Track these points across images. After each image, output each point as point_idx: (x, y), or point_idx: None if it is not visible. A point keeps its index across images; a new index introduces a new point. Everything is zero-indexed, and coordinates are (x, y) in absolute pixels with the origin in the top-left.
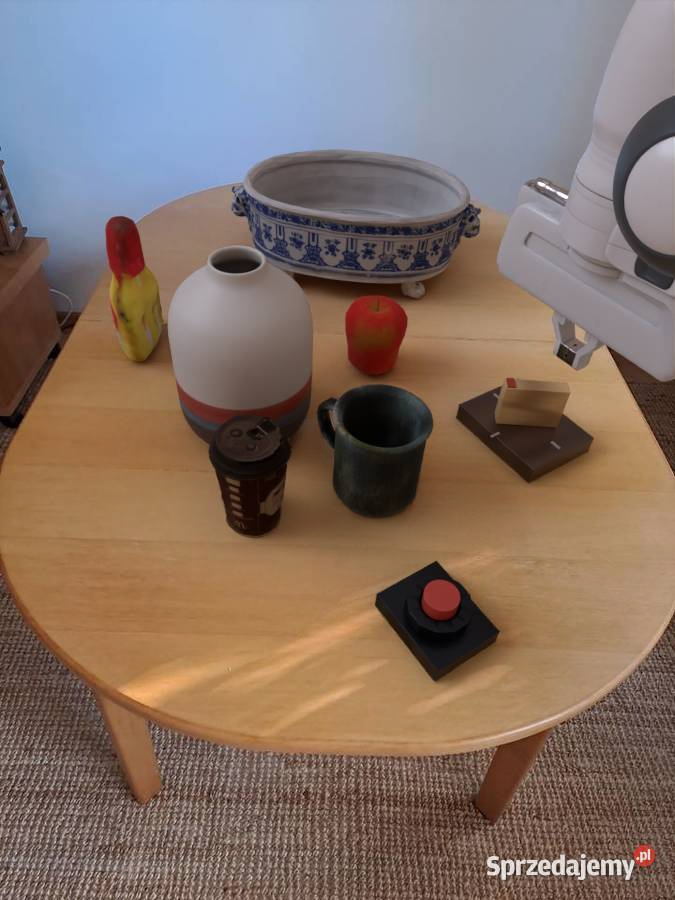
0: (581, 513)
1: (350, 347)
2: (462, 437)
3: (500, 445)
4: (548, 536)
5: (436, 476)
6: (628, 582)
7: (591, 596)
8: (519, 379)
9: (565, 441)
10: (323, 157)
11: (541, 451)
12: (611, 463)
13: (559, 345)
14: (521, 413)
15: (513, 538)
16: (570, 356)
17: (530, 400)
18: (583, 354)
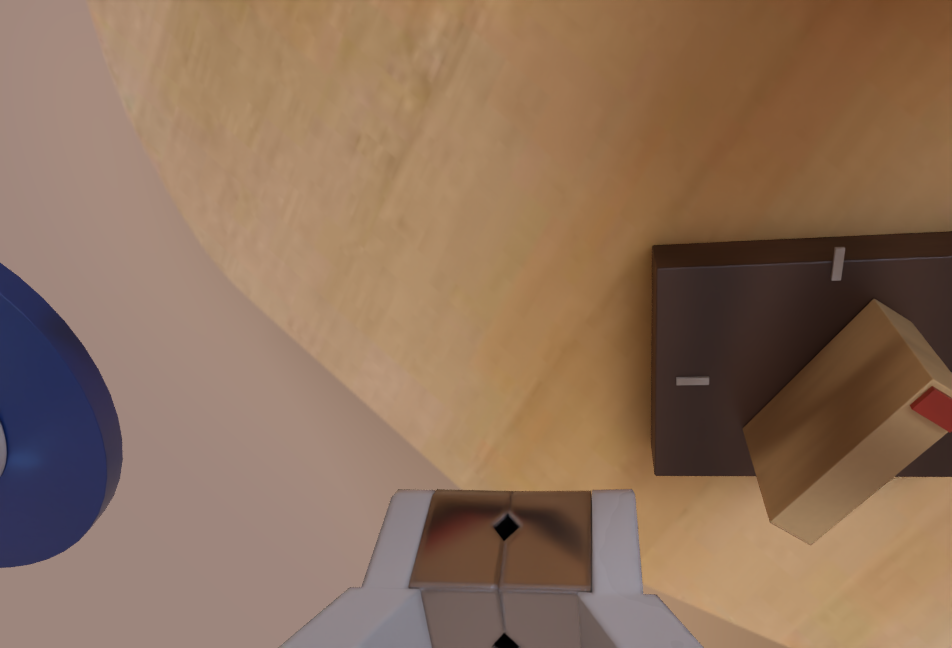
0: (502, 293)
1: None
2: (919, 193)
3: (797, 255)
4: (481, 169)
5: (845, 5)
6: (295, 244)
7: (291, 139)
8: (932, 443)
9: (688, 411)
10: None
11: (698, 334)
12: (590, 459)
13: (591, 564)
14: (837, 374)
15: (519, 76)
16: (458, 541)
17: (843, 417)
18: (327, 611)
